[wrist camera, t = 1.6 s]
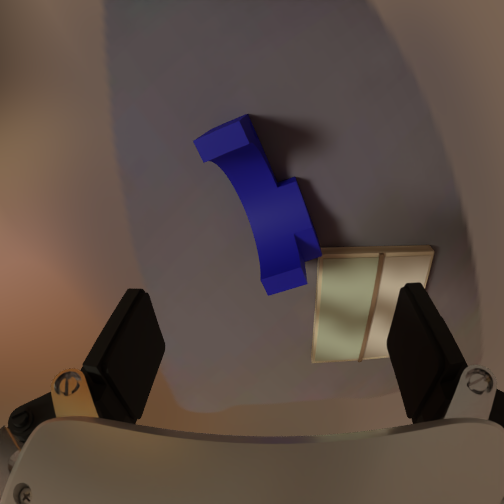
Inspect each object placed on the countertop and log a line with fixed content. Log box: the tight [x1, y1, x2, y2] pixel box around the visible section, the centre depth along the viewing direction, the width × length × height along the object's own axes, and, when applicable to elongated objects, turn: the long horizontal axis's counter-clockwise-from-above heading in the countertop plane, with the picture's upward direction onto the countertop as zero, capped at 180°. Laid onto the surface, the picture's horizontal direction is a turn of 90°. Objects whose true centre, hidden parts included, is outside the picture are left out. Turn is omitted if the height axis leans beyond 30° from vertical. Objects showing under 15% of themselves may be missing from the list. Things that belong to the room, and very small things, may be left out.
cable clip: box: [193, 114, 322, 296], centre depth 22 cm, size 12×4×6 cm, turn 23°
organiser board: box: [311, 245, 434, 363], centre depth 29 cm, size 14×11×2 cm
